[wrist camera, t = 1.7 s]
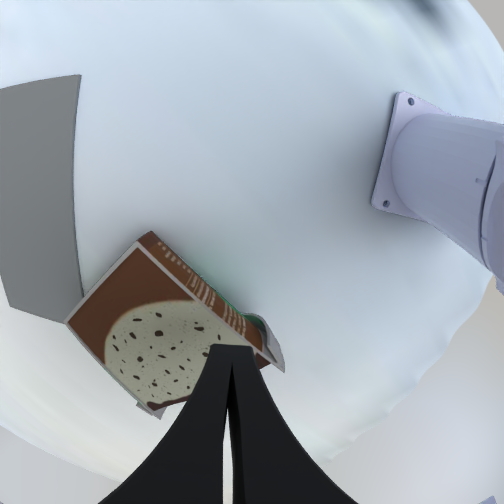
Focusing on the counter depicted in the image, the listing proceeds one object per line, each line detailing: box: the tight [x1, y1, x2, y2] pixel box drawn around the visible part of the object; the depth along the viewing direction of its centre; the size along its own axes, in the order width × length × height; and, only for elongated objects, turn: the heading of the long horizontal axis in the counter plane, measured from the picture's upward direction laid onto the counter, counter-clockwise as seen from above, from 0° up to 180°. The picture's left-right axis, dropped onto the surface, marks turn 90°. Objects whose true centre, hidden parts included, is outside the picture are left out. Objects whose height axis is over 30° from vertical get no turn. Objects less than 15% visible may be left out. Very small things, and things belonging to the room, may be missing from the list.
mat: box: [0, 75, 84, 324], centre depth 17 cm, size 10×20×1 cm, turn 170°
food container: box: [63, 231, 285, 420], centre depth 18 cm, size 12×6×10 cm
